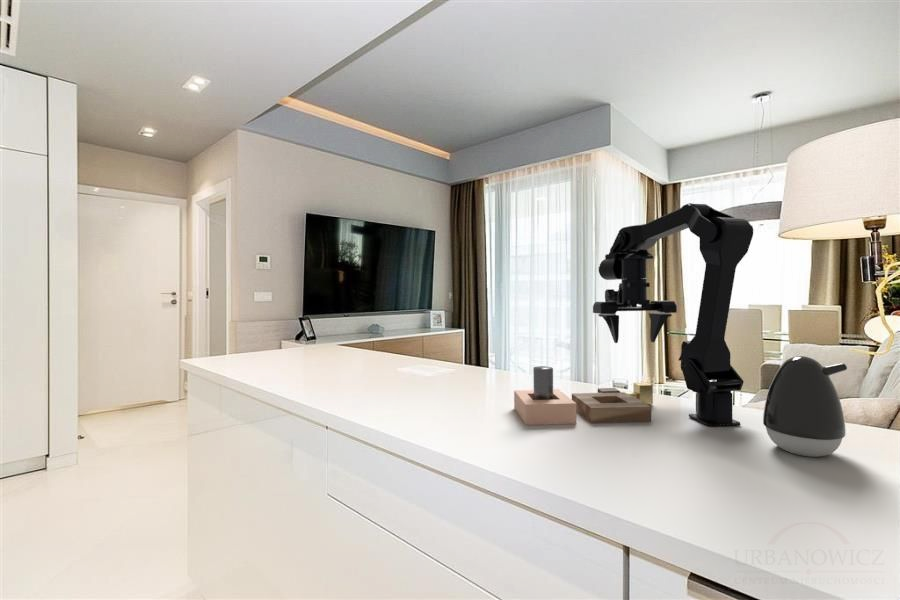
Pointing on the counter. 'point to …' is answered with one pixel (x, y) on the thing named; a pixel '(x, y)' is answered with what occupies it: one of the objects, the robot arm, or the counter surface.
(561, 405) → the block
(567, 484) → the counter surface
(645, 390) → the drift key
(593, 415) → the socket block
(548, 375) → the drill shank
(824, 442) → the pump dispenser
